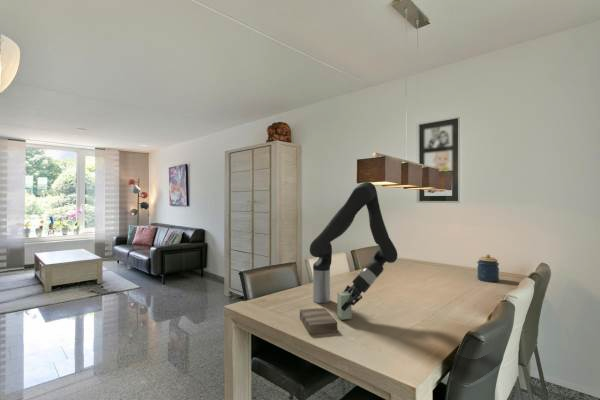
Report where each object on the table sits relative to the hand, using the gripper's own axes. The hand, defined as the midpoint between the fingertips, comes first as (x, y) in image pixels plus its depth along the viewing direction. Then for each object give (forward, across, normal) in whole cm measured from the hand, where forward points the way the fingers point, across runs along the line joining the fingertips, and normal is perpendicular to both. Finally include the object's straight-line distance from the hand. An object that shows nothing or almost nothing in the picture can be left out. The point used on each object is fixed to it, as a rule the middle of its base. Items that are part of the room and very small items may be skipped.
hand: (340, 307), depth 142 cm
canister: (-83, -44, +92) cm, 132 cm away
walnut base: (+12, +4, -5) cm, 14 cm away
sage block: (+2, 0, +5) cm, 5 cm away
